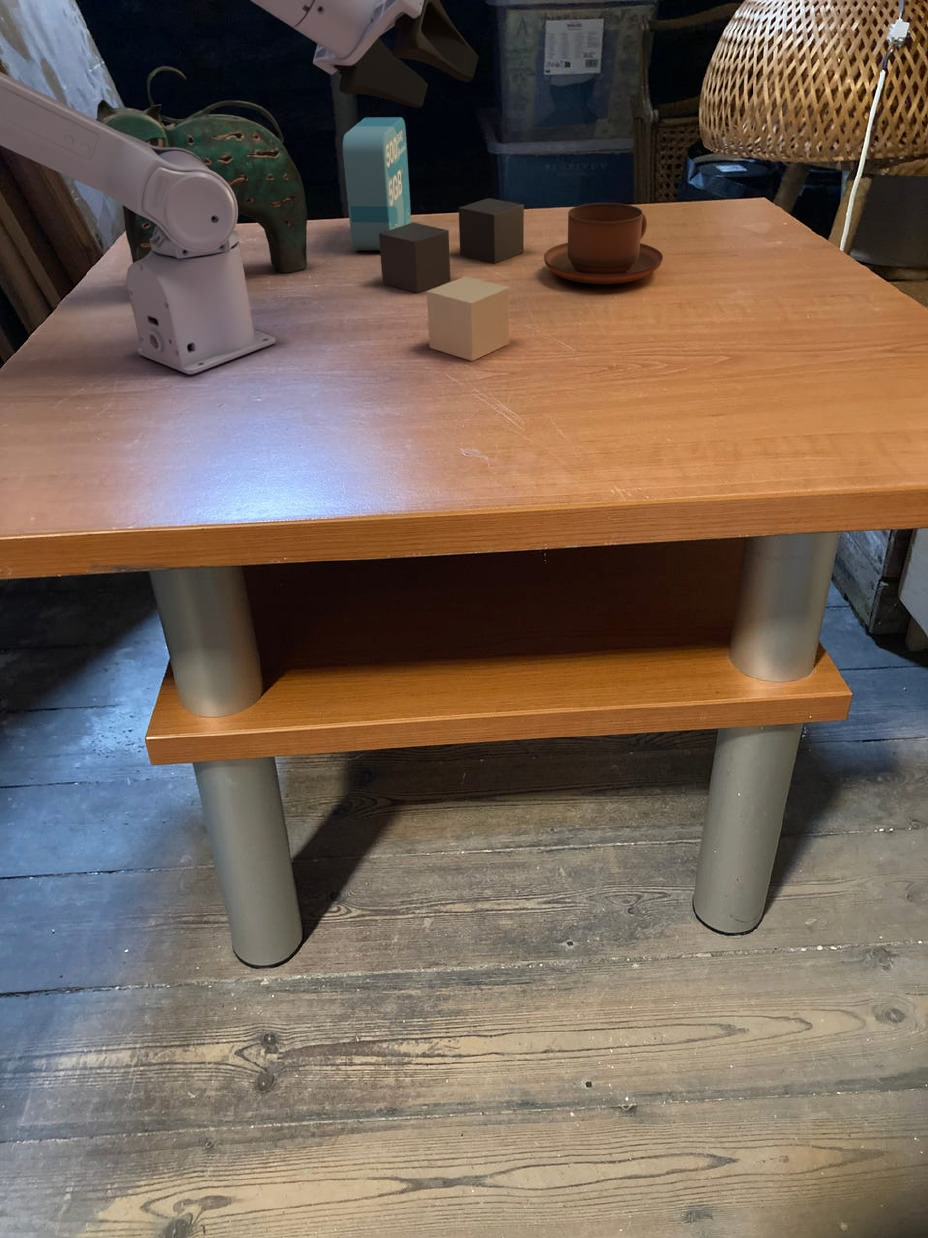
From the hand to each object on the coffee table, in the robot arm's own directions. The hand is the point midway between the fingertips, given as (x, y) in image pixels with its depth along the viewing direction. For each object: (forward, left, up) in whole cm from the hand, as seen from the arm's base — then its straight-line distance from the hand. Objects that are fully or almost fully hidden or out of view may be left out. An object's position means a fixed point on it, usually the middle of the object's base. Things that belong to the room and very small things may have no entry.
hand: (447, 83), depth 82 cm
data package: (+12, +22, -19) cm, 31 cm away
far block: (+15, +8, -19) cm, 25 cm away
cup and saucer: (+16, -6, -19) cm, 25 cm away
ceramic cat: (-9, +25, -19) cm, 32 cm away
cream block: (-7, -8, -19) cm, 22 cm away
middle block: (+3, +8, -19) cm, 21 cm away
